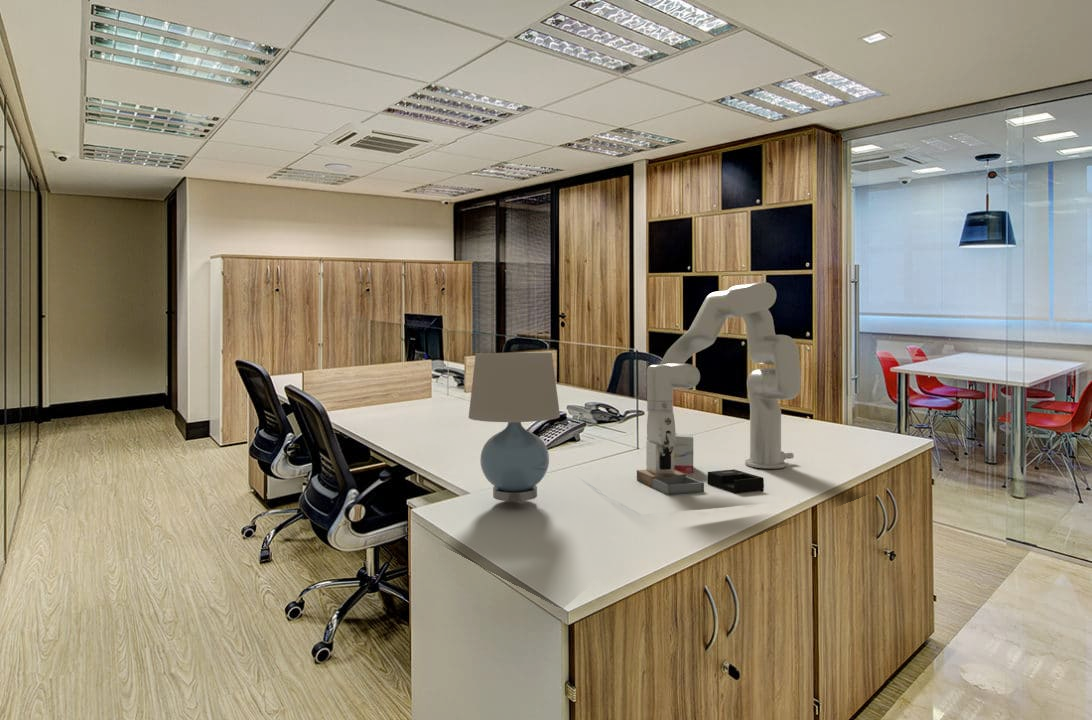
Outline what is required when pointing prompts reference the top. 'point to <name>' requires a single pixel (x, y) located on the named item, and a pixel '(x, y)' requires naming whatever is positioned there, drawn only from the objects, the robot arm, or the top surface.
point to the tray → (677, 485)
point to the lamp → (514, 419)
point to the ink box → (683, 453)
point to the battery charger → (735, 481)
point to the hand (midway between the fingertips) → (660, 466)
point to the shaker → (656, 458)
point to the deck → (654, 476)
